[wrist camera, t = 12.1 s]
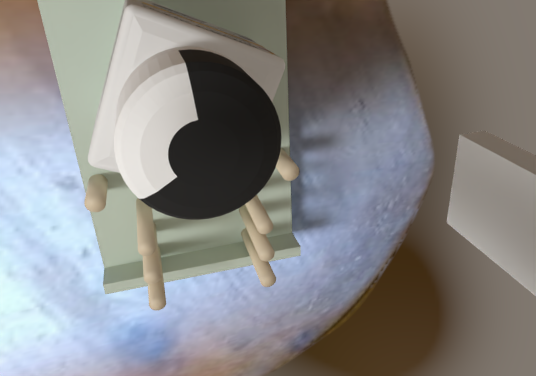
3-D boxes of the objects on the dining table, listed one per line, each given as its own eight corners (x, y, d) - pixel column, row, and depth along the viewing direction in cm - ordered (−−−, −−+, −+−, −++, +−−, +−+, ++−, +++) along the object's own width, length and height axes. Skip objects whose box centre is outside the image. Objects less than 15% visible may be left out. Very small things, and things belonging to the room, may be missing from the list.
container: (252, 38, 29) (332, 87, 18) (213, 150, 31) (262, 256, 20) (126, -9, 26) (126, 14, 15) (95, 119, 29) (73, 222, 17)
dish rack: (32, -35, 25) (1, -34, 19) (278, -47, 28) (320, -50, 22) (107, 267, 34) (102, 335, 28) (287, 233, 37) (319, 287, 31)
